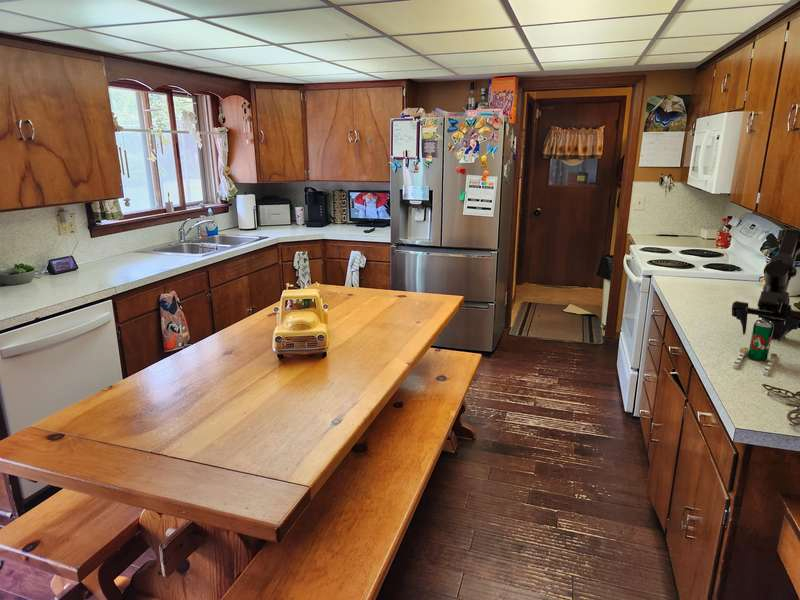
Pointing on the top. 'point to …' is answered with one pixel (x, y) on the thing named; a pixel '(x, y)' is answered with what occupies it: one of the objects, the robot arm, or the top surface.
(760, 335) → the soda can
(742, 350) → the tabs
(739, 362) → the fader track
